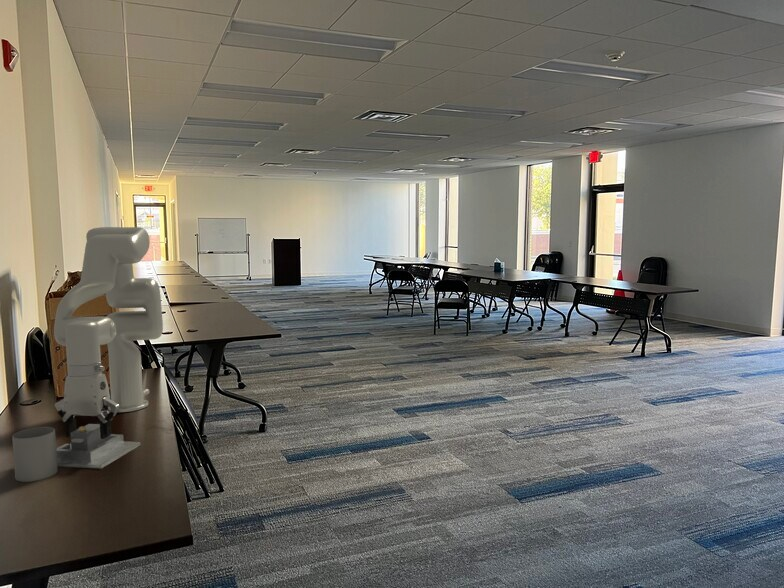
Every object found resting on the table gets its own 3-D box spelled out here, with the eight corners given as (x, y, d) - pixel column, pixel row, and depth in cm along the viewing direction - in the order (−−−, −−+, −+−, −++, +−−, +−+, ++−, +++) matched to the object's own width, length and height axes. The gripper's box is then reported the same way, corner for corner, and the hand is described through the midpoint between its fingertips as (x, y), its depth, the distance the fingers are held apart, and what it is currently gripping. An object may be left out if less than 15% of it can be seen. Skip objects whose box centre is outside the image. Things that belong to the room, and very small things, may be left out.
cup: (65, 469, 136) (63, 428, 135) (34, 483, 129) (31, 440, 128) (39, 465, 139) (36, 425, 138) (6, 478, 131) (3, 436, 130)
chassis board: (79, 442, 155) (78, 430, 155) (140, 445, 152) (139, 433, 152) (34, 464, 139) (33, 452, 139) (101, 468, 137) (100, 455, 136)
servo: (93, 444, 151) (91, 418, 150) (108, 445, 150) (107, 419, 149) (68, 457, 142) (67, 430, 141) (85, 458, 141) (83, 430, 140)
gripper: (125, 367, 146) (128, 432, 148) (64, 366, 149) (68, 430, 151) (106, 374, 139) (110, 442, 140) (42, 372, 142) (47, 439, 143)
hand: (88, 436), depth 145 cm, fingers open, 9 cm apart
